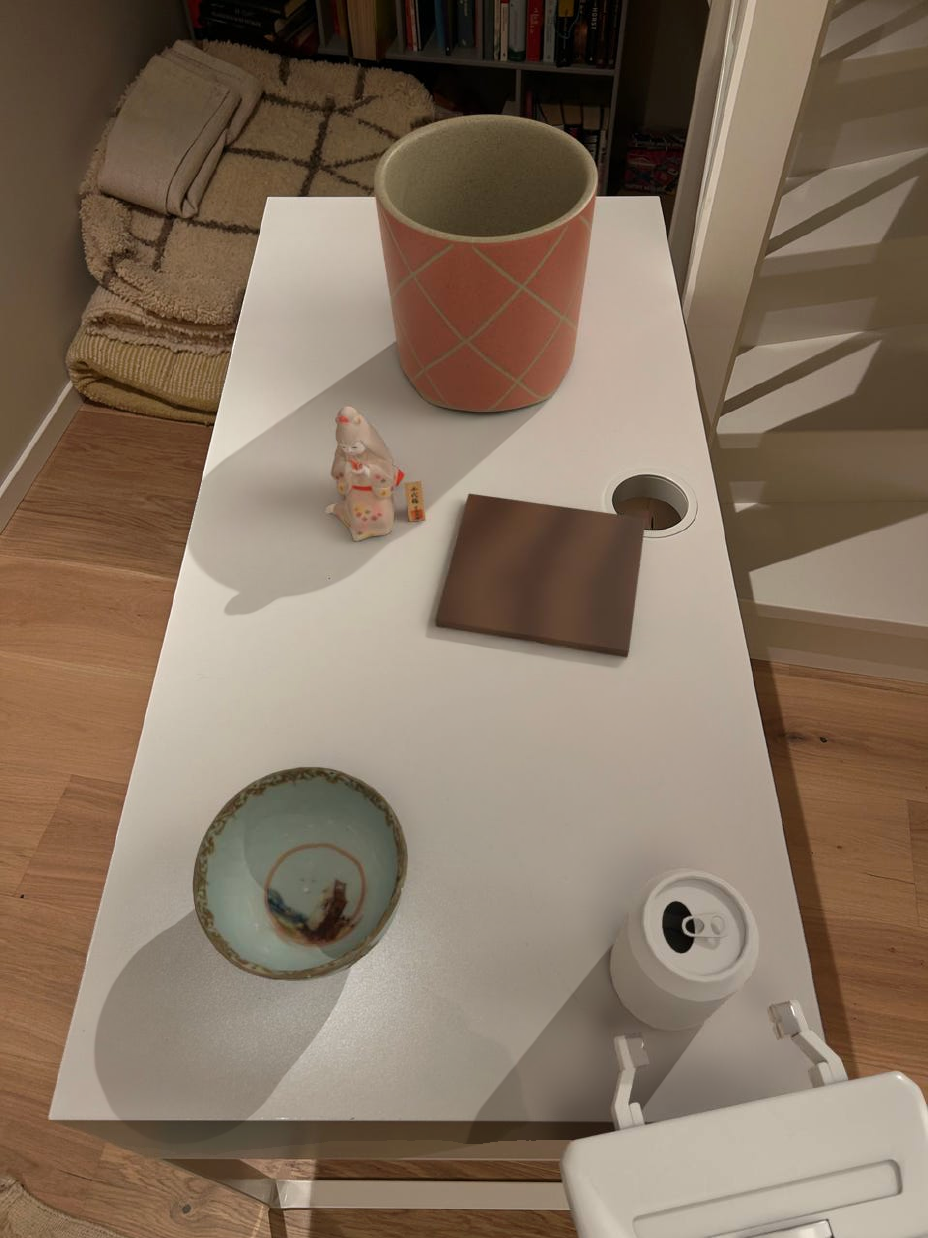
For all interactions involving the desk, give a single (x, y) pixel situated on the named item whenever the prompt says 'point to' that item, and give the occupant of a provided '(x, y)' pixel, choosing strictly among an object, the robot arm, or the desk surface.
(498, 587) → the board
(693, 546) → the desk surface
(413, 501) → the figurine
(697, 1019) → the can
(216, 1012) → the desk surface
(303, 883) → the bowl
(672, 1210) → the robot arm
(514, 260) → the planter
